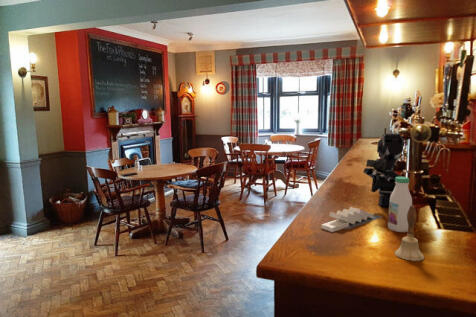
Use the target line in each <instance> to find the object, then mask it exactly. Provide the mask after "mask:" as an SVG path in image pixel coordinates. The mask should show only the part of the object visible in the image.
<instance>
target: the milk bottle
mask: <svg viewBox="0 0 476 317" xmlns="http://www.w3.org/2000/svg"><path fill="white" fill-rule="evenodd" d="M395 183H396V186H395V188H394V190H393V192H392V194H391V196H390V203H389V208H388V220H387V227H388V229H389V230H391V231H394V232H397V233H398V232H399V233H407V232H408V222H407V213H408V210H409V208H410V206H411V205H412V206H413V199H412V195H411V193H410V190H409V184H410V178H409V177H407V176H401V177H396V178H395Z"/></svg>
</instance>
